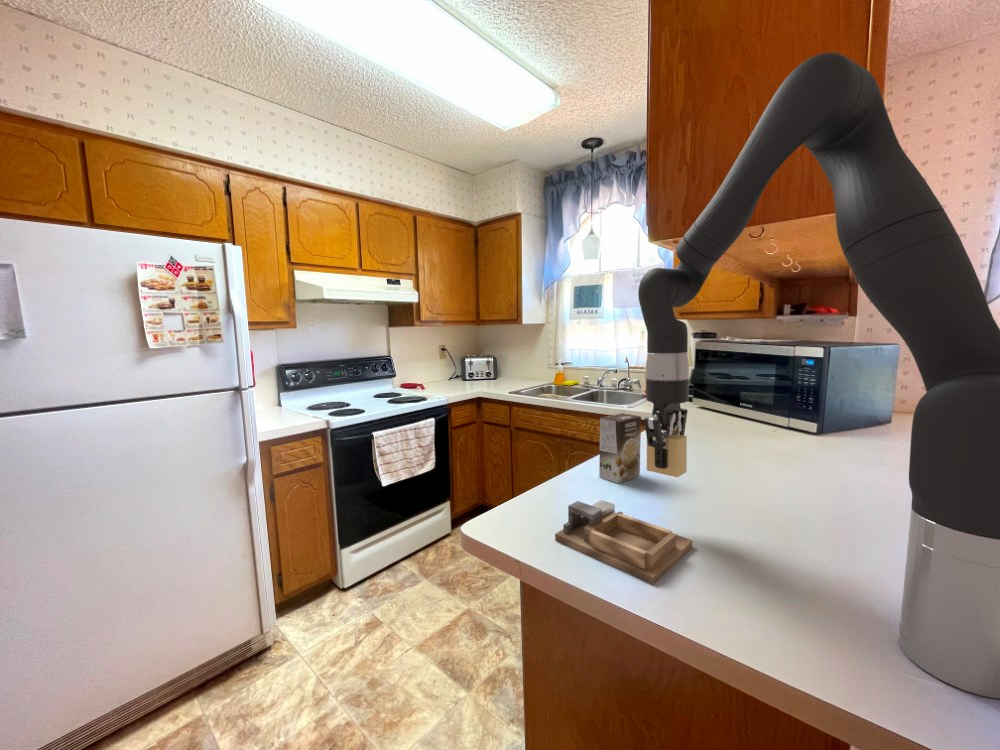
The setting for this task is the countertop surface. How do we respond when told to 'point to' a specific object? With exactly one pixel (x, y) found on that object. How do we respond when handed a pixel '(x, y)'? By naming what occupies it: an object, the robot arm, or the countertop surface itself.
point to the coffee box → (620, 447)
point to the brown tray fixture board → (623, 541)
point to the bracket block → (671, 457)
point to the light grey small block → (604, 508)
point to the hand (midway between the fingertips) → (666, 464)
